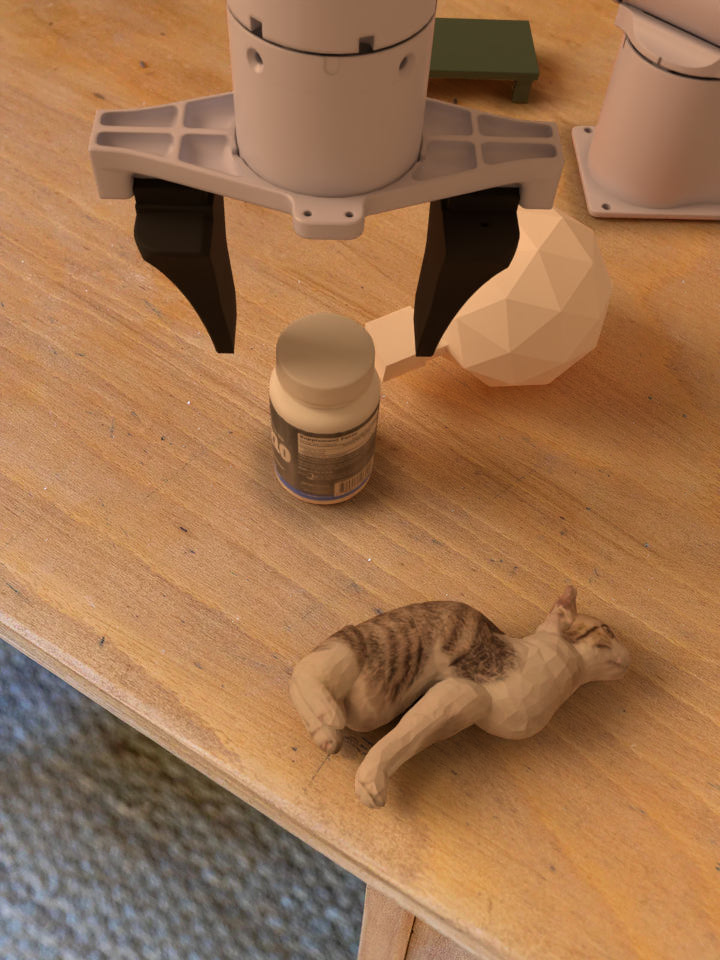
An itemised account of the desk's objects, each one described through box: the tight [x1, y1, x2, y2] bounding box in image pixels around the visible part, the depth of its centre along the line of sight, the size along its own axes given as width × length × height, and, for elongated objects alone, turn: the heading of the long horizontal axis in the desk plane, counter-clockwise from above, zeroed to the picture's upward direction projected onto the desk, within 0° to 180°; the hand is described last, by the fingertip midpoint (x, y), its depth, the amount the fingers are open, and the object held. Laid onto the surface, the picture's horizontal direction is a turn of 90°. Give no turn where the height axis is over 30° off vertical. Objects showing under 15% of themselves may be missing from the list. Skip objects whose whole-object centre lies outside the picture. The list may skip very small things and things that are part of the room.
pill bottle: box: [268, 312, 382, 505], centre depth 41 cm, size 5×5×8 cm
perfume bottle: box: [364, 205, 615, 388], centre depth 45 cm, size 9×9×12 cm
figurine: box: [287, 584, 633, 810], centre depth 36 cm, size 4×16×15 cm
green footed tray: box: [428, 17, 540, 104], centre depth 61 cm, size 10×6×2 cm, turn 91°
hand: (325, 336), depth 37 cm, fingers open, 7 cm apart
